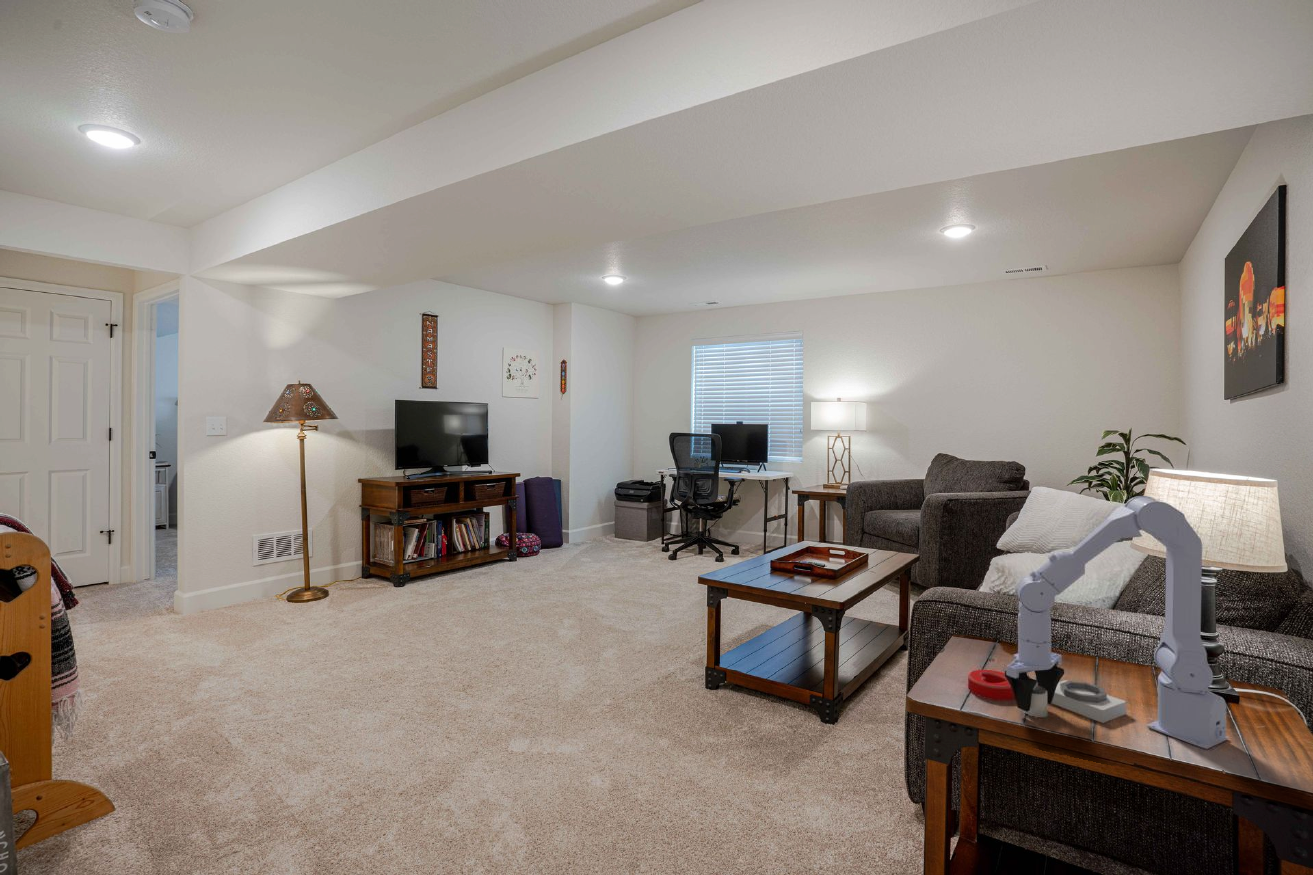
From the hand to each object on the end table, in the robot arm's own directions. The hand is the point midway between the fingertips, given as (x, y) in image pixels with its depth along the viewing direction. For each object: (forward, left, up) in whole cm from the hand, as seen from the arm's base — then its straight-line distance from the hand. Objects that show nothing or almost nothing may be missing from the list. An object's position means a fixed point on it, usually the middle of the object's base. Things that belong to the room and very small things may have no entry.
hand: (1034, 705), depth 130 cm
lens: (0, 0, -2) cm, 2 cm away
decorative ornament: (+11, -2, -2) cm, 11 cm away
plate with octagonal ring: (-3, -11, -1) cm, 11 cm away
